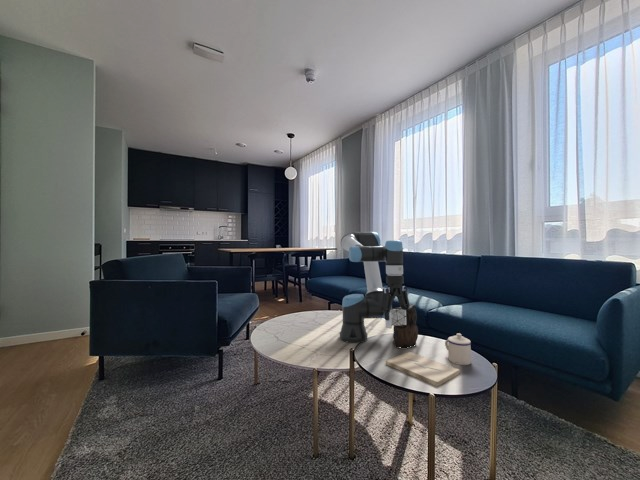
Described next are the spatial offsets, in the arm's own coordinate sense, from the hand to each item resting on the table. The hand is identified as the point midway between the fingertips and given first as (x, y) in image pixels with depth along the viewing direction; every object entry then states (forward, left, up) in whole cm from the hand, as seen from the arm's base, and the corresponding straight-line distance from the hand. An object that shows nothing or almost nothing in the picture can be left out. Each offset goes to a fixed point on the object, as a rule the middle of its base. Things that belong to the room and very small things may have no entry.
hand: (396, 325), depth 118 cm
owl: (-10, +18, -15) cm, 25 cm away
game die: (0, 0, 0) cm, 0 cm away
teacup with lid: (+16, +20, -15) cm, 30 cm away
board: (+12, 0, -15) cm, 19 cm away
